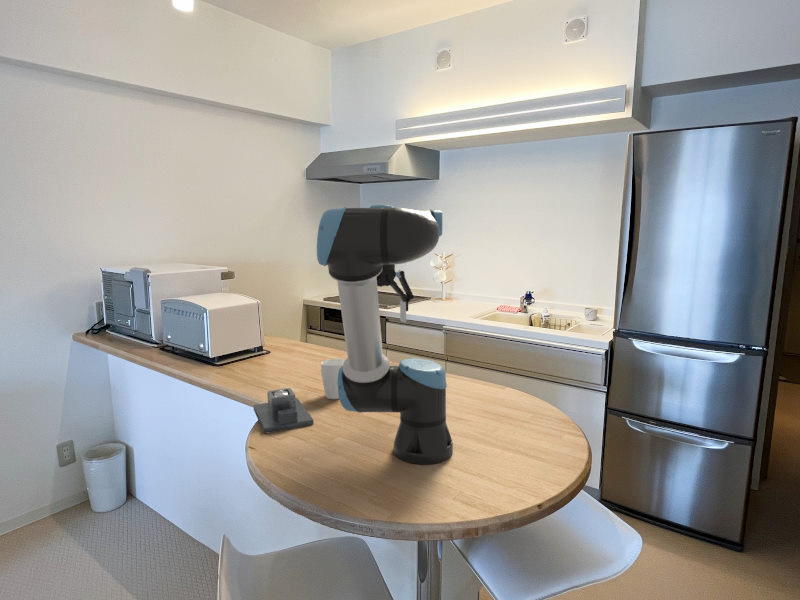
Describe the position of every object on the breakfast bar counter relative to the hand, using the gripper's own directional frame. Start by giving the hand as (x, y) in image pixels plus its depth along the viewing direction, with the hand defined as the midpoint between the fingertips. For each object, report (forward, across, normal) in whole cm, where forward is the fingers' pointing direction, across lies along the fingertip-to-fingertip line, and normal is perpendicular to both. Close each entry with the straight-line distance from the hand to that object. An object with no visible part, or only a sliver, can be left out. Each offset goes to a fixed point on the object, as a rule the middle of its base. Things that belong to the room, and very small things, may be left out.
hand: (383, 323), depth 152 cm
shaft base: (+27, +32, -5) cm, 42 cm away
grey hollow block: (+25, +32, -5) cm, 41 cm away
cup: (+27, +12, -15) cm, 33 cm away
